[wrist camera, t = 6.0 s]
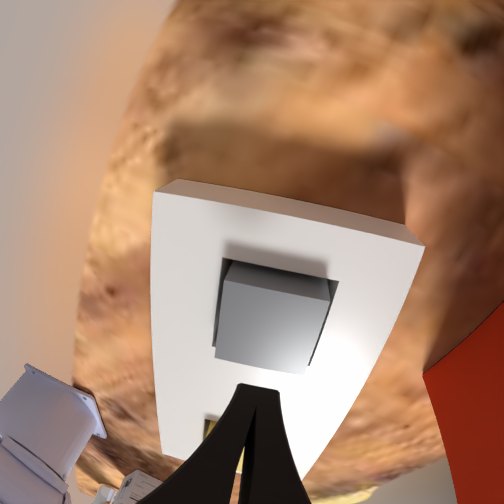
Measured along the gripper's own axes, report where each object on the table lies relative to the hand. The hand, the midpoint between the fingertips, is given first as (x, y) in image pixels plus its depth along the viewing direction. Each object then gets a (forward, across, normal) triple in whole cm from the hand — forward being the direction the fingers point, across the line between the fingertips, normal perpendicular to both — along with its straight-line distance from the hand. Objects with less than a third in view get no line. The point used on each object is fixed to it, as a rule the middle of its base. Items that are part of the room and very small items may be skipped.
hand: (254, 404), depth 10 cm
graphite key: (+7, 0, 0) cm, 7 cm away
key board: (+8, 0, +6) cm, 10 cm away
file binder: (+8, -19, -1) cm, 21 cm away
